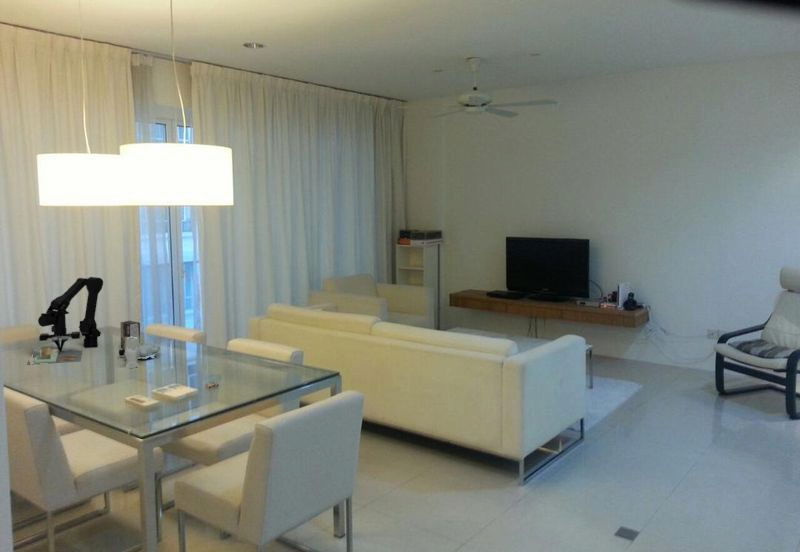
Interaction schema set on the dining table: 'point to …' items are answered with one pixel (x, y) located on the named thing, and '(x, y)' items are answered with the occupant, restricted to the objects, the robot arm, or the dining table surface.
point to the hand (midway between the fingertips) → (60, 351)
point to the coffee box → (129, 331)
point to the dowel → (45, 353)
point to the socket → (68, 357)
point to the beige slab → (53, 351)
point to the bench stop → (36, 351)
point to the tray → (39, 359)
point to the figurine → (144, 350)
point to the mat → (67, 353)
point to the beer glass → (132, 350)
